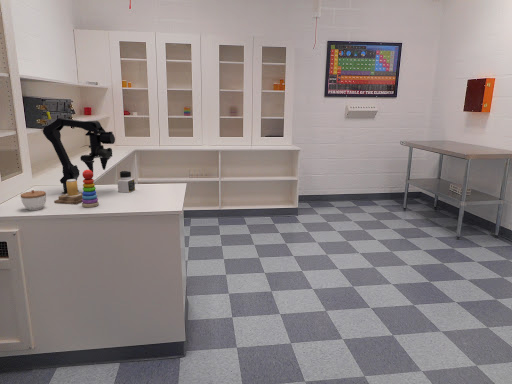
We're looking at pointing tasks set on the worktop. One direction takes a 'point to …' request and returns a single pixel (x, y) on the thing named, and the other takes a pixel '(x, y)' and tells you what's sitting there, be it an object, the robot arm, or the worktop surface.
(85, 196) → the stacking toy
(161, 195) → the worktop surface
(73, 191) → the amber jar
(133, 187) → the medicine bottle
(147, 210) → the worktop surface
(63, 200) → the walnut plinth
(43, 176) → the worktop surface
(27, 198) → the lidded jar
